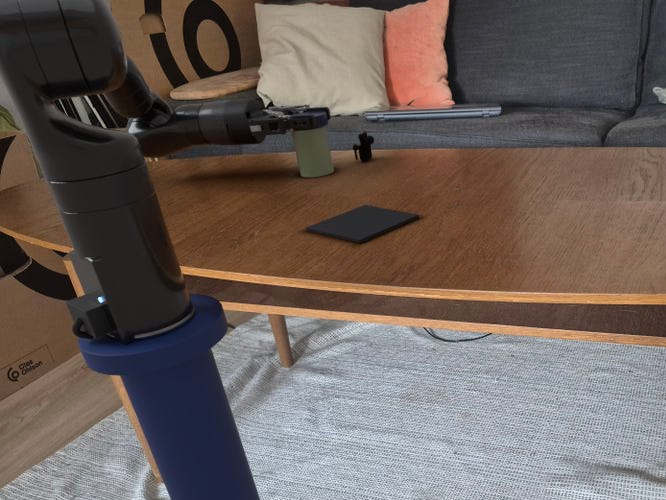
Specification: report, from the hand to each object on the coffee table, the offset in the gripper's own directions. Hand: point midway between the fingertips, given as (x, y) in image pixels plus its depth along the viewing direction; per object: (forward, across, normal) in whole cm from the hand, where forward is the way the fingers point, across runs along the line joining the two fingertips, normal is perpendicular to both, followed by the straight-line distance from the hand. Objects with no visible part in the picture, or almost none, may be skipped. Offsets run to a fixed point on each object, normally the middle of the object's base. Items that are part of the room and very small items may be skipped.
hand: (322, 117), depth 115 cm
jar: (-3, 0, -9) cm, 10 cm away
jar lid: (-3, 0, 0) cm, 3 cm away
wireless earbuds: (+4, -8, -10) cm, 13 cm away
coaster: (+15, +30, -9) cm, 35 cm away
